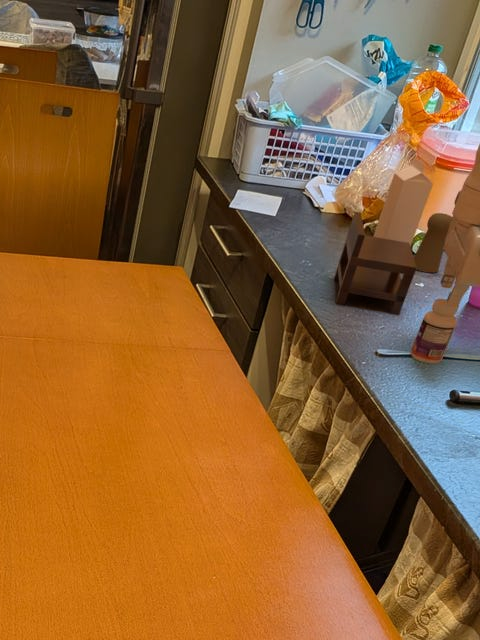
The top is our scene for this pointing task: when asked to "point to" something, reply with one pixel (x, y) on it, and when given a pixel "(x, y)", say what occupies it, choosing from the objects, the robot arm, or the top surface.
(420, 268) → the brown pawn
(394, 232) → the milk
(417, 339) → the pill bottle
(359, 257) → the brown chair
